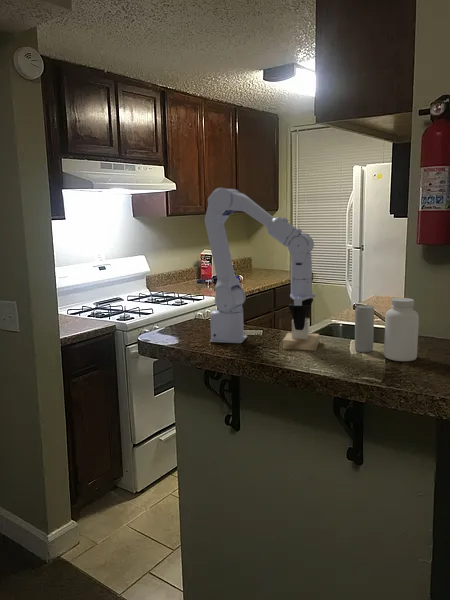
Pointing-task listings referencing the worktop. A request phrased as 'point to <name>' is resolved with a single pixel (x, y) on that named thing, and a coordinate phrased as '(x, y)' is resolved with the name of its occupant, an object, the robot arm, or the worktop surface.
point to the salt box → (301, 333)
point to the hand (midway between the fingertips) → (301, 326)
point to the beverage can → (364, 328)
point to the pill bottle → (401, 331)
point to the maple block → (301, 342)
